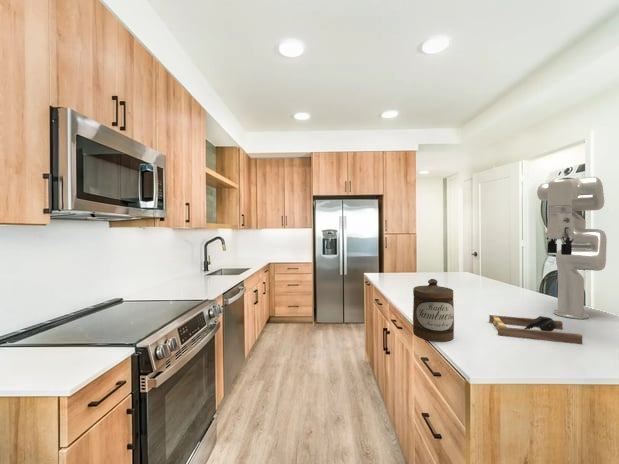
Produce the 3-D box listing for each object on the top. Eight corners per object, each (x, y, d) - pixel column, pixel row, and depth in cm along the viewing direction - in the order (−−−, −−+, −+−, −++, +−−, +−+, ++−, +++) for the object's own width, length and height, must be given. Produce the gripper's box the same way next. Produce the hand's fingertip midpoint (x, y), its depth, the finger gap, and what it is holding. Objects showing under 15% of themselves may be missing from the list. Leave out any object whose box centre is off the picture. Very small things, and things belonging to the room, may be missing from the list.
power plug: (516, 327, 126) (543, 311, 124) (528, 342, 125) (555, 327, 123) (523, 331, 120) (551, 315, 118) (535, 348, 120) (564, 332, 118)
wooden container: (417, 341, 114) (417, 282, 113) (409, 328, 128) (409, 275, 128) (459, 343, 112) (459, 282, 111) (447, 329, 126) (447, 276, 126)
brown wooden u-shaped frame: (489, 321, 136) (489, 314, 136) (560, 328, 127) (560, 320, 127) (498, 335, 119) (498, 327, 119) (582, 344, 110) (582, 335, 110)
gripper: (584, 209, 113) (584, 255, 113) (557, 212, 130) (557, 252, 130) (561, 209, 114) (560, 255, 114) (537, 212, 131) (537, 252, 131)
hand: (558, 253), depth 122 cm, fingers open, 9 cm apart
